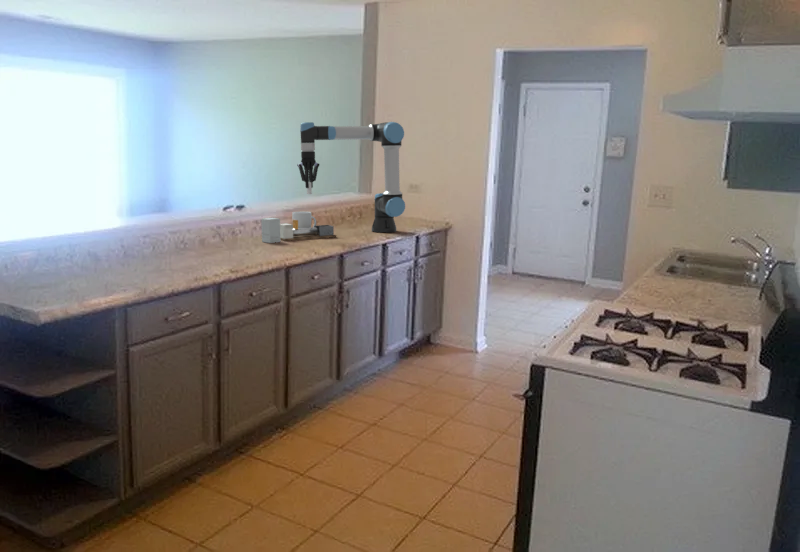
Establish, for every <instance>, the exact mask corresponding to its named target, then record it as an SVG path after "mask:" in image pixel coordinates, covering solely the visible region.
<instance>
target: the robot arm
mask: <svg viewBox="0 0 800 552" xmlns="http://www.w3.org/2000/svg"><path fill="white" fill-rule="evenodd" d="M404 137H405V131H404V128H403V126H402V124H401V123H399V122H397V121H396V122H395V121H389V122H381V123H380V122H379V123H376V124H368V125H365V126H364V125H362V126H361V125H354V126H352V125H347V126H346V125H345V126H344V125H343V126H340V125H339V126H337V125H335V126H334V125H333V126H332V125H315V123H314V122H311V121H310V122H306V121H305V122H304V121H303V122H301V123H300V149H301V150H300V151H301V152H300V154H301V155H300V157H301V160H300V162H299V163H297V167H298V169H299V173H300V178H301V181H302V182H304V184H305V189H306V194H307V195H312V194H313V191H312V189H313V188H314V182H316V180H317V174H318V171H319V170H318V169H319V167H320V163H318V162H316V152H315V150H316V147H315V145H316V143H315V142H316V141H335V140H337V141H339V140H347V141H349V140H369V141H370V142H380V143H381V147H382V148H383V152H384V153H383V157H384V158H383V162H384V191H383V192H381V193H380V192H379V193H376V194H375V195H374V199H373V200H374V219H373V222H372V225H371V232H373V231H374V233H382V232H386V233H396V232H397V225H396V221H395V218H396V217H400V216H402V214H403V213H404V212H405V209H406V202H405V201H404V199H403V192H402V191H401V190H400V187H401V186H400V184H401V183H400V148H401V147H402V140H403V139H404ZM394 217H395V218H394Z"/></svg>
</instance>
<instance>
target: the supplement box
mask: <svg viewBox="0 0 800 552" xmlns="http://www.w3.org/2000/svg"><path fill="white" fill-rule="evenodd" d="M260 220H261V242H262V243H267V244H273V243H274V244H275V242H276V243H280V242H281V241H282V240H281V239H280V224H281V219H280V218H277V217H276V218H275V217H266V218H265V217H264V218H261V219H260Z"/></svg>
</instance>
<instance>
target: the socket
mask: <svg viewBox="0 0 800 552" xmlns="http://www.w3.org/2000/svg"><path fill="white" fill-rule="evenodd" d="M280 238H283V239H289V238H293V224H291V223H280Z"/></svg>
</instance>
